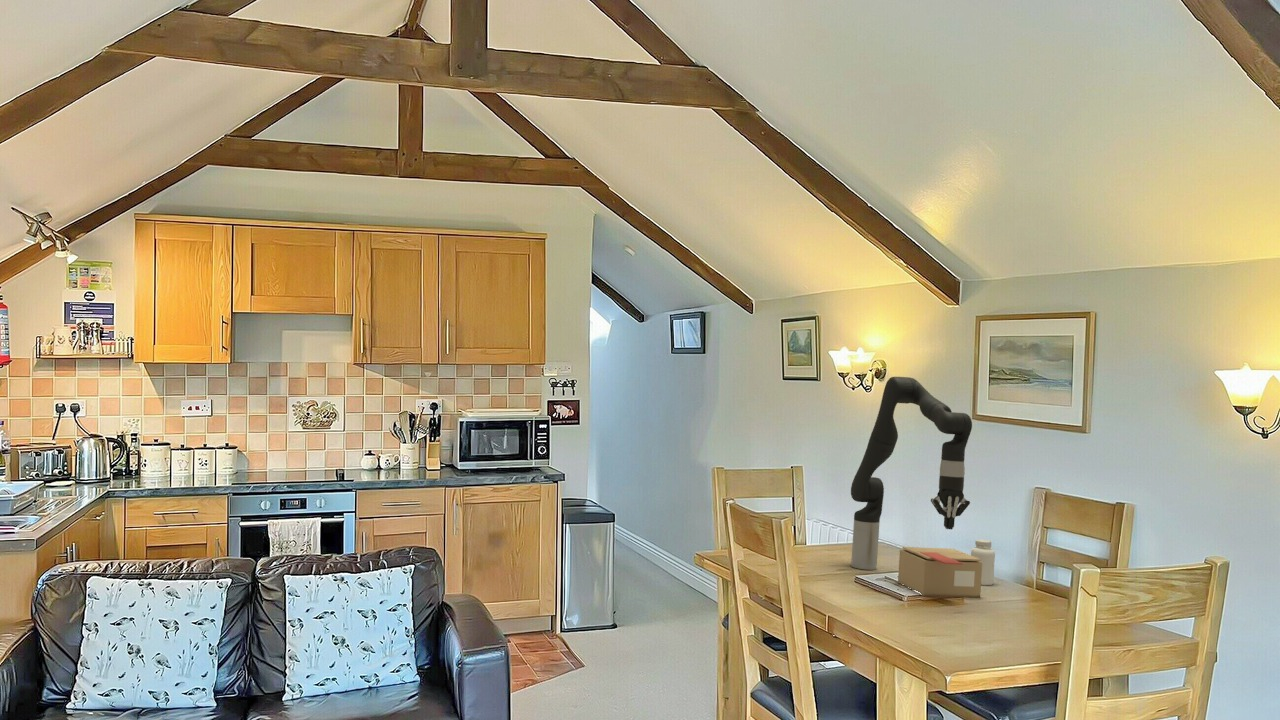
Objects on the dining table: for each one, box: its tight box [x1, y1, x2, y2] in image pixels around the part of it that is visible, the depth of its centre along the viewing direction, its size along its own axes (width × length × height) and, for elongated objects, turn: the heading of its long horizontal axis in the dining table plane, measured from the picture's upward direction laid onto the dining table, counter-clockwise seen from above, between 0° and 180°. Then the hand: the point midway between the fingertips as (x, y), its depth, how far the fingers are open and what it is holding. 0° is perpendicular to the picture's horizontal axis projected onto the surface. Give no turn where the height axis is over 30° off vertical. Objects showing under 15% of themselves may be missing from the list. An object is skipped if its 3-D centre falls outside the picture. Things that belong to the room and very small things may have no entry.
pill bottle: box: [970, 539, 996, 586], centre depth 342 cm, size 8×8×15 cm
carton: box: [897, 546, 982, 599], centre depth 324 cm, size 19×20×12 cm
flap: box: [915, 552, 981, 565], centre depth 315 cm, size 19×18×1 cm
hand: (948, 528), depth 310 cm, fingers closed
